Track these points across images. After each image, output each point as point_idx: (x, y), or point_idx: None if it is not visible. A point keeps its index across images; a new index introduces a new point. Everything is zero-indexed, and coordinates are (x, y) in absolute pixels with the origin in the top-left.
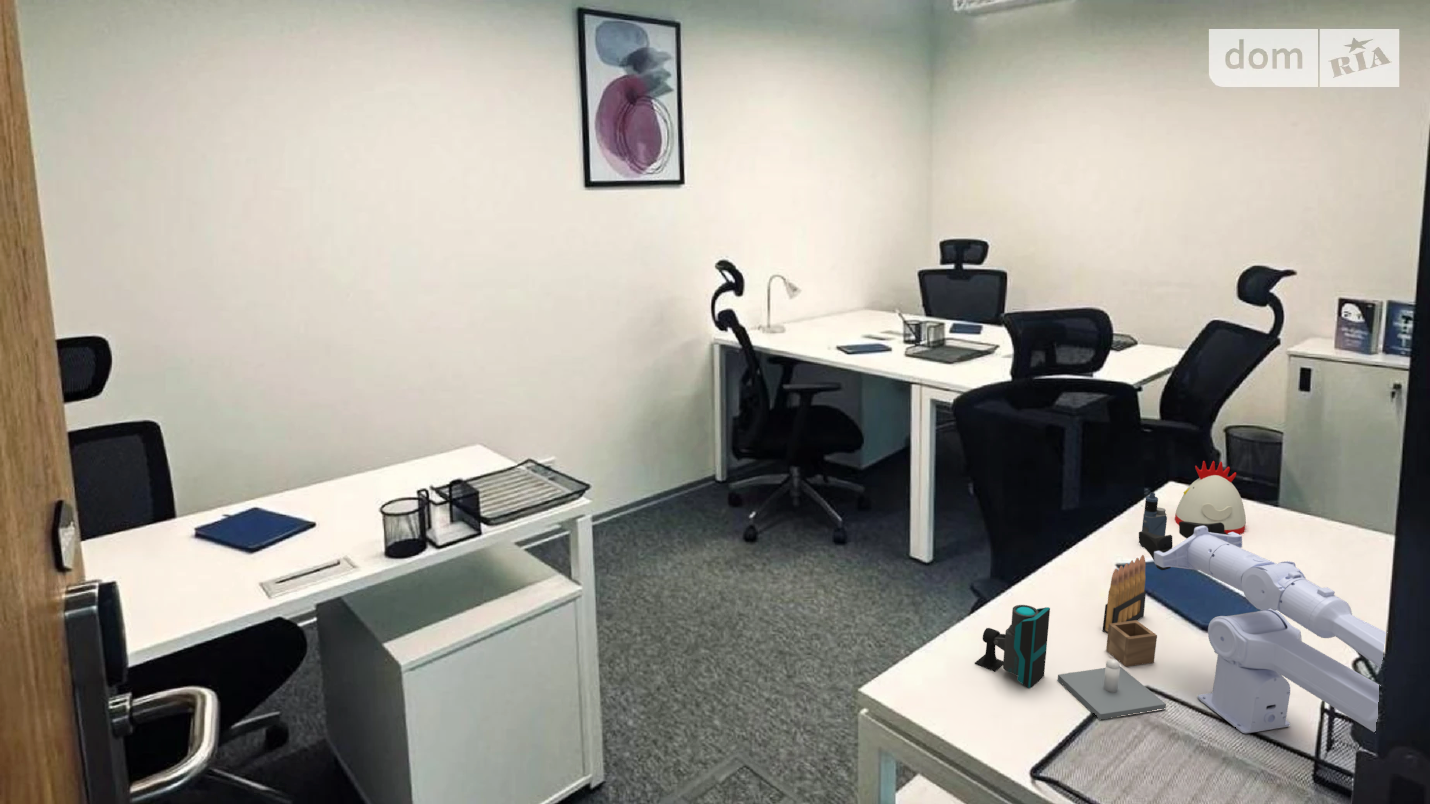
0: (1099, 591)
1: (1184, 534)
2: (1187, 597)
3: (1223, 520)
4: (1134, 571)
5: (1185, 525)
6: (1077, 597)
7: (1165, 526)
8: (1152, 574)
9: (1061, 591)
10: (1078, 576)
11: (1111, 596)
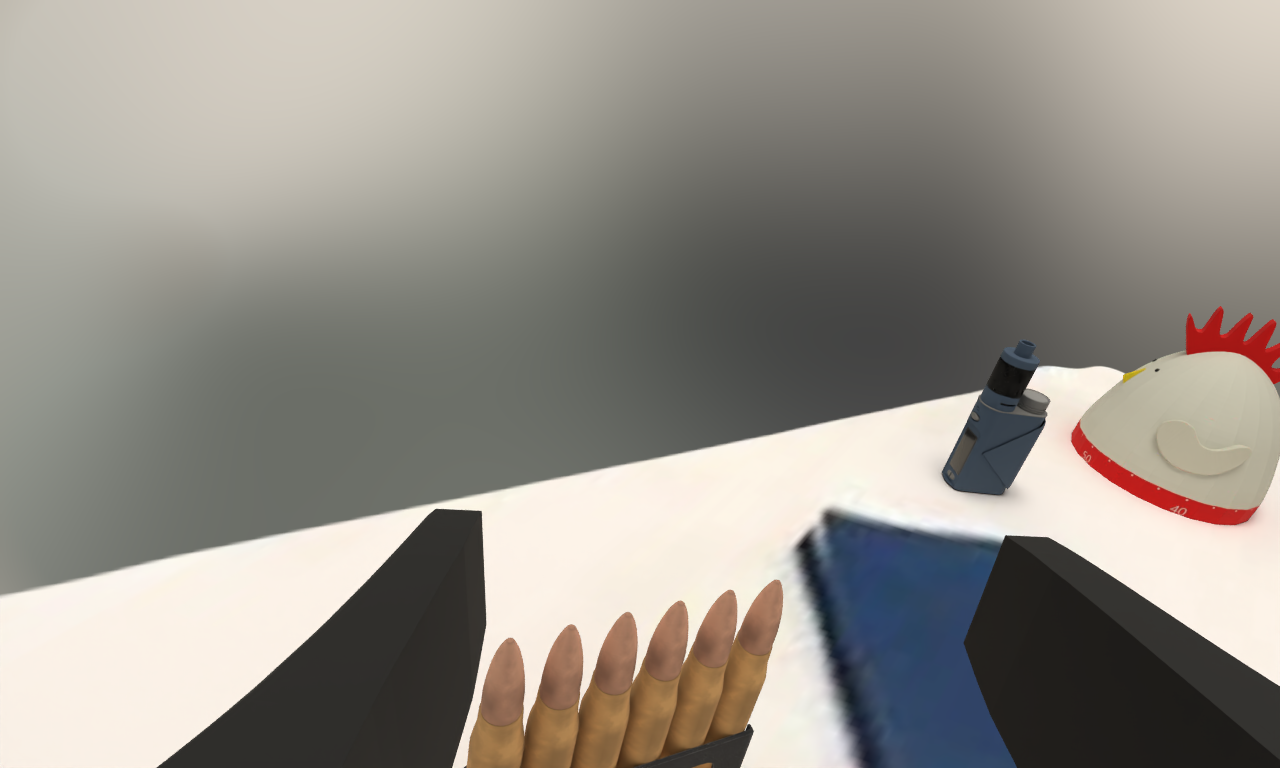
0: (678, 598)
1: (1008, 700)
2: (977, 742)
3: (1207, 477)
4: (677, 659)
5: (1064, 621)
6: (575, 600)
7: (1030, 446)
8: (911, 584)
9: (554, 556)
10: (674, 516)
11: (469, 760)
